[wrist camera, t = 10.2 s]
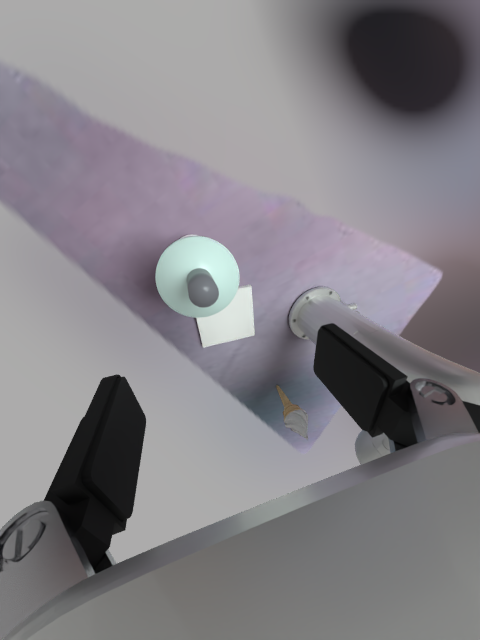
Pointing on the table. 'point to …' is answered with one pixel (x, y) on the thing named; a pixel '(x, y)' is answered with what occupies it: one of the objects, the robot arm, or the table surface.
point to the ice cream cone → (294, 415)
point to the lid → (197, 276)
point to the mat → (229, 320)
